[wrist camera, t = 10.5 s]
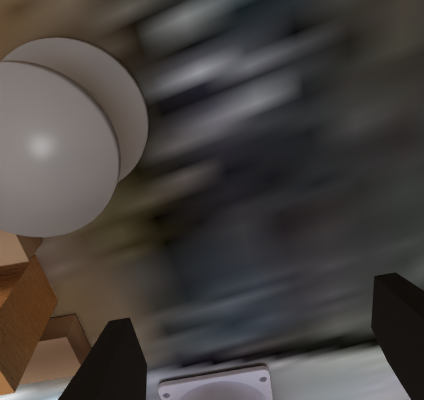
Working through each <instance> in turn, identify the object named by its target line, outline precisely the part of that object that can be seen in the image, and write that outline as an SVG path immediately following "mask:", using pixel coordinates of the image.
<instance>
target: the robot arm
mask: <svg viewBox="0 0 424 400" xmlns="http://www.w3.org/2000/svg"><path fill="white" fill-rule="evenodd" d="M371 327H372V330H373V332H374V334H375V336H376V338H377V341H378V343H379V345H380V347H381V349H382V351H383V353H384V355H385V357H386V359H387V361H388V363H389V365H390V366H391V368H392V369H393V371H394V373H395V374H396V376H397V378H398V379H399V381H400V382H401V384H402V386H403V387H404V389H405V391H406V392H407V394H408V395H409V397H410V399H411V400H424V291H423V290H422V289H420V288H419V287H417V286H415V285H414V284H412V283H411V282H409V281H408V280H406V279H405V278H403V277H402V276H400V275H399V274H397V273H390V274H384V275H378V276H374V291H373V308H372V325H371ZM146 381H147V363H146V361H145V358H144V355H143V352H142V350H141V347H140V344H139V342H138V339H137V336H136V333H135V331H134V328H133V325H132V322H131V320H130V318H124V319H119V320H113V321H109V322H108V324H107V325H106V327H105V328H104V330H103V331H102V333H101V334H100V336H99V338H98V339H97V341H96V342H95V344H94V346H93V347H92V349H91V350H90V352H89V354H88V355H87V357H86V358H85V360H84V361H83V363H82V365H81V366H80V368H79V369H78V371H77V372H76V374H75V375H74V377H73V378H72V380H71V381H70V383H69V384H68V386H67V387H66V389H65V390H64V392H63V393H62V395H61V396H60V397H59V399H58V400H146ZM158 393H159V396H160V398H161V400H273V397H272V389H271V382H270V374H269V370H268V368H267V367H266V366H257V367H251V368H245V369H239V370H233V371H227V372H221V373H214V374H208V375H202V376H196V377H190V378H184V379H178V380H172V381H166V382H162V383H160V384H159V386H158Z"/></svg>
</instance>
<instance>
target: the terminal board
mask: <svg viewBox="0 0 424 400" xmlns="http://www.w3.org/2000/svg"><path fill="white" fill-rule="evenodd" d="M41 243H42V241H41V238H40V237H29V236H22V235H17V234H12V233H9V232H6V231H3V230H0V266H5V265H10V264H16V263H22V262H28V261H29V260H30V259H31V258H32V256H33V255H34V253H35V252H36V250H37V249H38V247H39V246H40V244H41ZM90 350H91V347H90V345H89V343H88V341H87V339H86V336H85V334H84V332H83V330H82V328H81V325H80V323H79V321H78V319H77V317H76V315H75V314H74V315H68V316H62V317H56V318H50V319H49V321H48V323H47V325H46V327H45V329H44V331H43V334H42V336H41V338H40V340H39V342H38V344H37V346H36V349H35V351H34V353H33V355H32V357H31V359H30V361H29V363H28V366H27V368H26V370H25V372H24V374H23V376H22V378H21V381H20V383H19V385H20V384H26V383H32V382H38V381H44V380H50V379H56V378H62V377H68V376H74V375H75V374H76V372H77V371H78V369H79V368H80V366H81V365H82V363H83V361H84V360H85V358H86V357H87V355H88V354H89V352H90Z"/></svg>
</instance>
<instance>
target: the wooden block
mask: <svg viewBox="0 0 424 400" xmlns="http://www.w3.org/2000/svg"><path fill="white" fill-rule="evenodd" d="M57 302H58V301H57V299H56V296H55V294H54V292H53V290H52V288H51V286H50V284H49V282H48V280H47V278H46V276H45V274H44V272H43V270H42V268H41V266H40V264H39V262H38V260H37V258H36V255H33V256H32V258H31V259H30V260H29V261H28V262H22V263H16V264H10V265H5V266H0V395H4V394H10V393H15V391H16V389H17V387H18V385H19V383H20V381H21V378H22V376H23V374H24V372H25V370H26V368H27V366H28V363H29V361H30V359H31V357H32V355H33V353H34V351H35V349H36V346H37V344H38V342H39V340H40V338H41V336H42V334H43V331H44V329H45V327H46V325H47V323H48V321H49V319H50V317H51V314H52V312H53V310H54V308H55V306H56V304H57Z"/></svg>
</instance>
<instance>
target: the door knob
mask: <svg viewBox="0 0 424 400" xmlns="http://www.w3.org/2000/svg"><path fill="white" fill-rule="evenodd" d="M148 132H149V114H148V109H147V104H146V101H145V98H144V95H143V93H142V91H141V88H140V86H139V85H138V83H137V81H136V80H135V78H134V77H133V75H132V74H131V73H130V72H129V70H128V69H127V68H126V67H125V66H124V65H123V64H122V63H121V62H120V61H119V60H118V59H117V58H115V57H114V56H113V55H111V54H110V53H109V52H107V51H105V50H104V49H102V48H100V47H98V46H96V45H94V44H91V43H89V42H86V41H82V40H79V39H73V38H62V37H56V38H46V39H39V40H35V41H31V42H28V43H26V44H24V45H21V46H19V47H18V48H16V49H15V50H13V51H12V52H10V53H9V54H8V55H7V56H6V57H5V58H4V59H3V60H2V61H0V230H3V231H6V232H9V233H12V234H17V235H22V236H29V237H52V236H59V235H63V234H68V233H70V232H73V231H76V230H78V229H80V228H82V227H84V226H86V225H87V224H89V223H90V222H91V221H93V220H94V219H95V218H96V217H97V216H98V215H99V214H100V213H101V212H102V211H103V210H104V208H105V207H106V206H107V204H108V202H109V200H110V199H111V197H112V195H113V192H114V190H115V188H116V185H117V182H119V181H120V180H122V179H123V178H125V177H126V176H127V175H128V174H129V173H130V172H131V171H132V170H133V168H134V167H135V166H136V164H137V163H138V161H139V159H140V158H141V156H142V153H143V150H144V148H145V145H146V142H147V137H148Z"/></svg>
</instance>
